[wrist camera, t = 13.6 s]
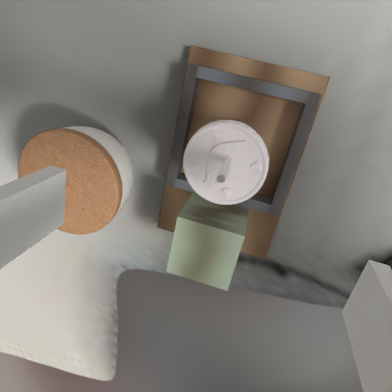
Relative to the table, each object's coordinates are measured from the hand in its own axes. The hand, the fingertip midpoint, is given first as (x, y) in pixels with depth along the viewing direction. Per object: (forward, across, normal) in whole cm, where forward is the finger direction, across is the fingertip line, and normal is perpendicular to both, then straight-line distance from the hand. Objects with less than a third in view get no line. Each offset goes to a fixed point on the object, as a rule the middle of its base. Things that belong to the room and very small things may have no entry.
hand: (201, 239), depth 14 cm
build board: (+22, +1, +2) cm, 22 cm away
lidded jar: (+22, +15, +7) cm, 27 cm away
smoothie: (+20, +1, 0) cm, 21 cm away
